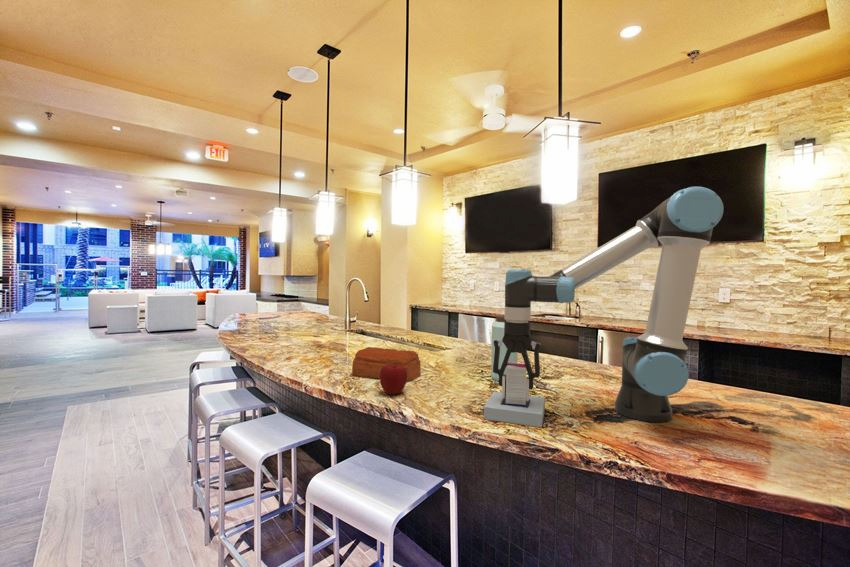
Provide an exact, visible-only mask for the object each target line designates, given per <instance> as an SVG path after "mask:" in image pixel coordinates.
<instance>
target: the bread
mask: <svg viewBox="0 0 850 567" xmlns="http://www.w3.org/2000/svg"><path fill="white" fill-rule="evenodd" d="M391 364H394V365H395V364H396V365H401V366H403V367H404V368H405V369H406V371H407V381H406V383H409V382H413V381H415V380H417V379H418V378H420V377H421V373H422V372H421V371H422V370H421V360H420V356H419V353H417V351H414V350H406V349H405V350H404V349H402V350H401V349H395V348H381V347H371V346H368V347H365V348H362V349H359V350H357V352H356V353H355V355H354V359H353V362H352V365H351V366H352V368H351V373H352V375H353V376H354V377H355V376H356V377H362V378H370V379H378V380H380V371H381V369H382V367H384V366H385V365H391Z"/></svg>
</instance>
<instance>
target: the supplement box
mask: <svg viewBox="0 0 850 567" xmlns="http://www.w3.org/2000/svg"><path fill="white" fill-rule="evenodd" d="M526 378H527V369H526V366H525V363H517V364H516V363H507V372H506V405H508V406H522V407H525V406H526Z"/></svg>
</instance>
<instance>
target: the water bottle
mask: <svg viewBox="0 0 850 567" xmlns="http://www.w3.org/2000/svg"><path fill="white" fill-rule="evenodd" d="M495 318H496V319H495V320H496V321H495V322H494V323H493V324H492V326H491V363H490V364H491V365H490V366H491V368H490V370H491V371H490V376H491V378H492V379H493V380H494V381H496V382H498V383H499V375H498V374H497V373H494V372H493V364H494V354H495V346H494V341H495V340H496V339H498V340H499V339H503V337H504V322H505V321H507V320H505V319H504V318H505V315H497V316H495ZM506 352H507V347H506V346H505V344H504V343H502V345H501V346H500V356H499V366H498V369H501V366H502V363H503V360H504V358H505V355H506ZM508 363H516V364H518V353H517V352H514V353H512V352H511V355H510V357H509V360H508ZM506 372H507V366H506V368H505V371H504V374H506Z"/></svg>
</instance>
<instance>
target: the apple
mask: <svg viewBox="0 0 850 567" xmlns="http://www.w3.org/2000/svg"><path fill="white" fill-rule="evenodd" d="M406 381H407V371H406V369H405V368H404V367H403V366H401V365H396V364H395V365H394V364H391V365H385V366H384V367H382V369H381V371H380V379H379V382H380V386H381V388H382V390H383V391H384V392H385V393H386V394H387V395H390V396H391V395H392V396H393V395H399V394H400V393H401V392H403V390H404V388H405V387H406V384H407V382H406Z"/></svg>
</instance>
